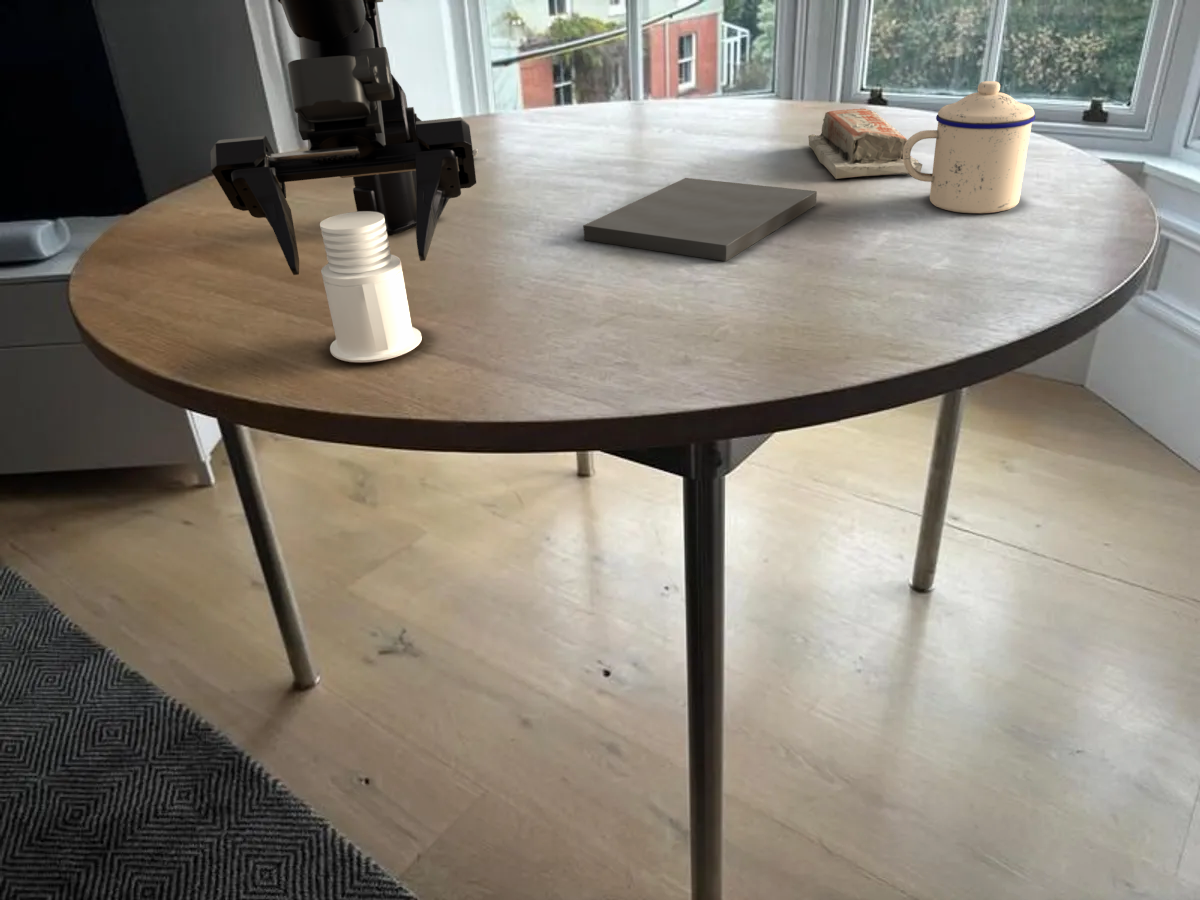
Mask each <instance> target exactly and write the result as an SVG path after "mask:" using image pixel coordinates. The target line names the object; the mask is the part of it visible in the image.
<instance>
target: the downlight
mask: <svg viewBox="0 0 1200 900" xmlns="http://www.w3.org/2000/svg"><path fill="white" fill-rule="evenodd" d="M319 228H320V230H321V237H322V242H323V246H324V250H325V254H326V260H327V263H326V264H325V265H323V266H322V268H321V270H320V272H321V277H322V282H323V286H324V291H325V295H326V300H327V304H328V309H329V314H330V318H331V322H332V327H333V331H334V336H335V339H334V340H333V341H332V342H331V343H330V346H329V351H330V354H331V355H332V357H334V358H335V359H338V360H341V361H344V362H349V363H373V362H380V361H386V360H390V359H394V358H397V357H400V356H403V355H405V354H407V353H409V352H411V351H412V350H414V349H415V348H417V347H418V346H419V345H420V344H421V342H422V338H423V335H422V333H421V331H420V330H419V329H418V328H416V327H414V326H413V324H412V319H411V313H410V307H409V301H408V296H407V290H406V283H405V279H404V273H403V267H402V262H401V258H400V257H399V256H397V255H395V254H392V253H391V247H390V241H389V237H388V236H389V234H387V231H386V224H385V218H384V215H383V214H381V213H379V212H372V211H358V212H357V211H350V212H344V213H339V214H335V215H332V216H329V217H326V218H324V219H323V220H321V221H320V222H319Z"/></svg>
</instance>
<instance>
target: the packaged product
mask: <svg viewBox="0 0 1200 900" xmlns="http://www.w3.org/2000/svg"><path fill="white" fill-rule="evenodd" d="M822 121H823V123H822V126H821V133H820V134H819V135H817V134H814V133H812V134H809V135H808V146H809V147H810V148H811V150H812V151H813V153H814V154H815V156H816V158H817V160H818V161H819V163H820V164H822V165H823V166H824V167H825V168H826V169H827V170H828V172H829V173H830V174H831V175H832V176H833V177H834V178H835V179H836V180H837V179H847V178H857V177H858V178H859V177H876V176H895V175H910V174H909V173H908V171H907V169H906V168H905V165H904V162H903V149H904V146H905V143H906V142H907V140H908V139H907V138H906V137H905V135H904V134H901V132H900V131H898V130H897V129H896V128H895V127H893V126H892V125H891V124H890V123H889V122H887V120H885V119H884V118H883V117H882V116H880V115H879V114H878V113H877V111H873V110H871V109H868V108H867V109H866V108H852V109H839V110H830V111H826V112H825V113H824V117H823V119H822ZM910 159H911V164H912V166H913V168H914V169H915V170H916V171H918V172H921V173H922V169H923V164H922V163H921V162H919V160H918V159H916V158H914V157H913V156H912V155H910Z"/></svg>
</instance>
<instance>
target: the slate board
mask: <svg viewBox="0 0 1200 900" xmlns="http://www.w3.org/2000/svg"><path fill="white" fill-rule="evenodd" d="M817 196H818V192H817V190H811V189H801V188H791V187H790V188H789V187H780V186H772V185H771V186H769V185H760V184H750V183H742V182H731V181H722V180H712V179H711V180H710V179H702V178H701V179H700V178H692V177H684V178H682V179H680V180H678V181H675V182H673V183H671V184H669V185H667V186H665V187H663V188H661V189H658V190H656V191H654V192H652V193H650V194H647V195H646V196H643V197H641V198H638V199H637V200H635V201H632V202H631V203H628V204H626V205H623V206H622V207H619V208H617V209H616V210H613V211H611V212H609V213H606V214H605V215H603V216H600V217H599V218H596V219H594V220H591V221H589V222H587V223H585V224H583V227H582V228H583V239H584V241H589V242H596V243H603V244H609V245H616V246H622V247H628V248H629V247H630V248H634V249H635V248H636V249H642V250H648V251H655V252H661V253H668V254H676V255H681V256H688V257H695V258H700V259H707V260H715V261H720V262H721V261H723V262H727V261H729V260H731V259H732V258H734V257H736V256H737V255H739V254H740V253H742V252H743V251H745V250H746V249H748V248H750V247H752V246H754V245H755V244H757V243H758V242H760V241H761V240H763V239H764V238H766V237H767V236H770V235H771V234H772V233H773V232H775V231H778V230H779V229H780V228H782V227H783V226H785V225H787V224H788V223H790V222H791V221H793V220H794V219H796V218H798V217H799V216H801V215H803V214H804V213H806V212H807V211H809V210H811V209H812V208H814V207H815V206H817V198H818V197H817Z"/></svg>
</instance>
